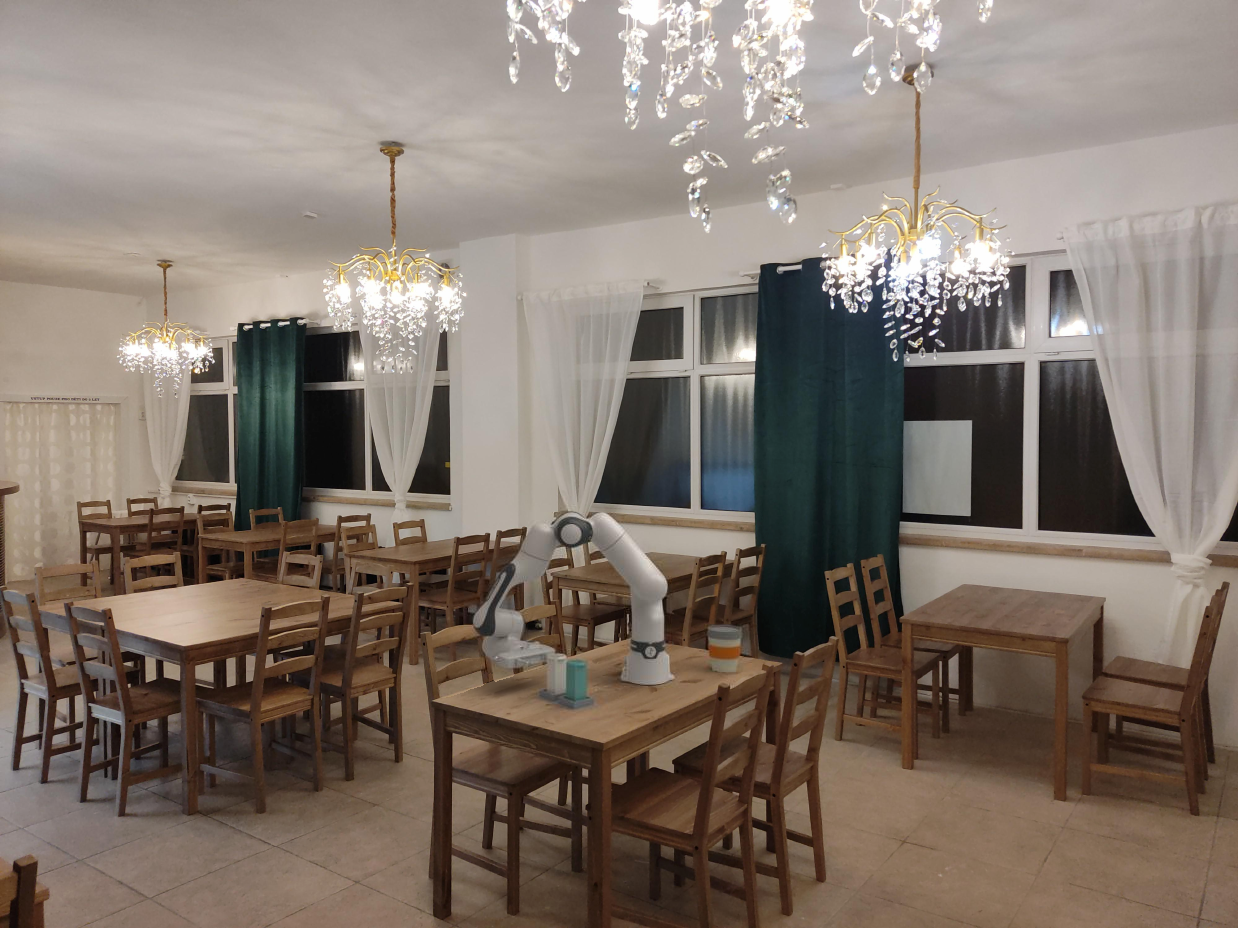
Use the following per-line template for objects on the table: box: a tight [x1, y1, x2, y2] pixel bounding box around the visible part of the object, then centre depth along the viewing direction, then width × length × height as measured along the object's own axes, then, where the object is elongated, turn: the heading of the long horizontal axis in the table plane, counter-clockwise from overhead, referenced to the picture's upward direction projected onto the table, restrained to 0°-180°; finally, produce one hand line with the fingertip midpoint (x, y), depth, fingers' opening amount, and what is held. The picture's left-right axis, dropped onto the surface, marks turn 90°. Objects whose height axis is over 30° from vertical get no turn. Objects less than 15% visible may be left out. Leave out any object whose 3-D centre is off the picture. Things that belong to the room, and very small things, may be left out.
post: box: [546, 653, 568, 695], centre depth 278 cm, size 6×6×13 cm
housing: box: [534, 687, 600, 712], centre depth 274 cm, size 20×10×4 cm, turn 41°
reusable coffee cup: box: [707, 624, 743, 674], centre depth 319 cm, size 13×13×15 cm
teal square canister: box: [566, 658, 588, 702], centre depth 270 cm, size 6×6×13 cm
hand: (540, 661), depth 284 cm, fingers open, 8 cm apart
